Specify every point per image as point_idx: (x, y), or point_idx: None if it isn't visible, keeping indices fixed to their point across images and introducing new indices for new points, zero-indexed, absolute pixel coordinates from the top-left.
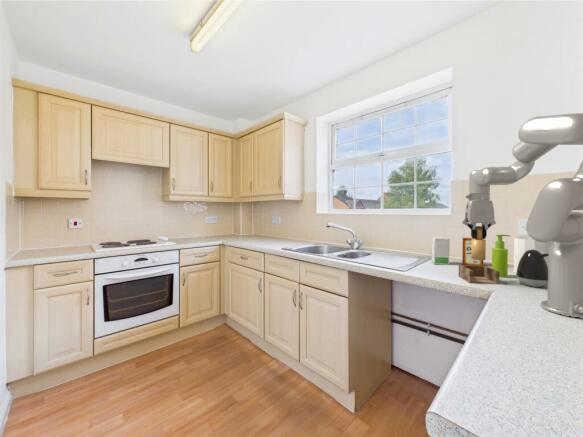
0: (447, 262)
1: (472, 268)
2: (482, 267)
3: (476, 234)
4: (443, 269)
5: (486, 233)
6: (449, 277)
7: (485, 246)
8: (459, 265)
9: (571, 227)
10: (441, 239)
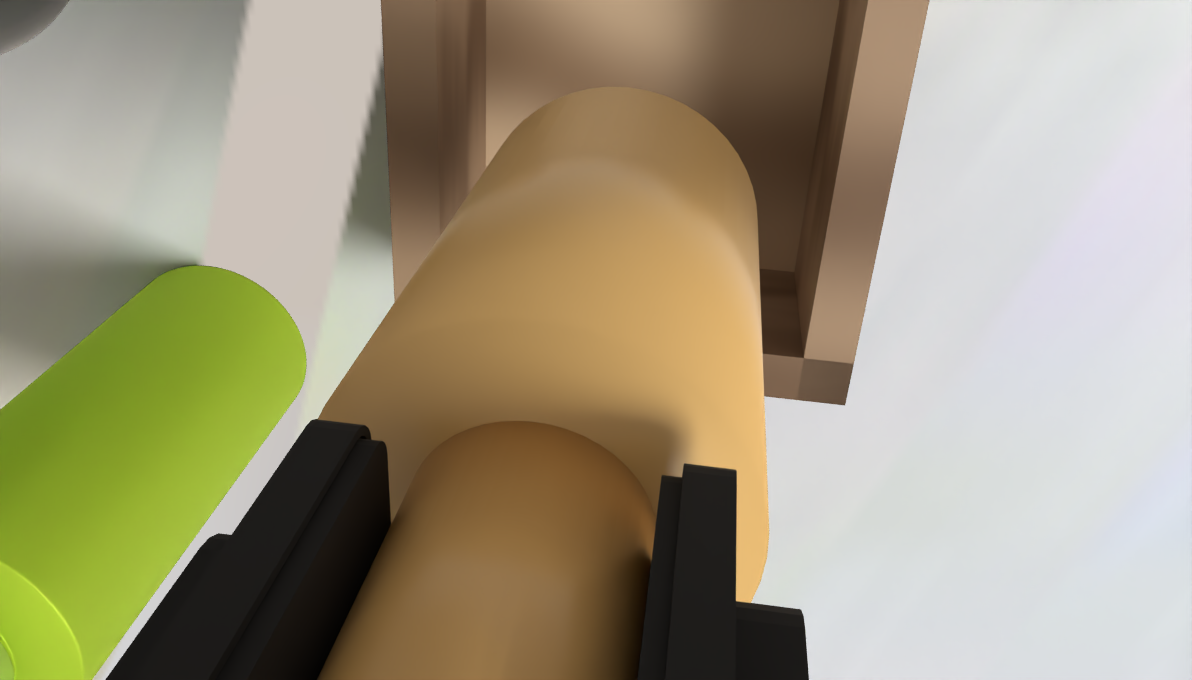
0: None
1: None
2: None
3: (674, 587)
4: (813, 660)
5: (154, 618)
6: (1022, 243)
7: (418, 269)
8: (850, 378)
9: None
10: None
